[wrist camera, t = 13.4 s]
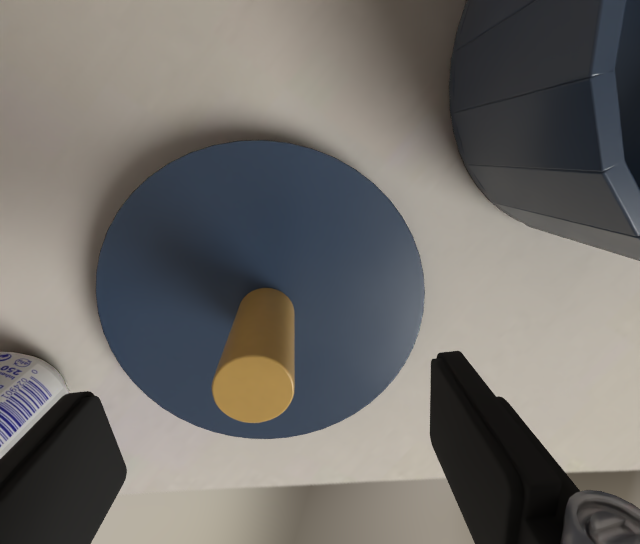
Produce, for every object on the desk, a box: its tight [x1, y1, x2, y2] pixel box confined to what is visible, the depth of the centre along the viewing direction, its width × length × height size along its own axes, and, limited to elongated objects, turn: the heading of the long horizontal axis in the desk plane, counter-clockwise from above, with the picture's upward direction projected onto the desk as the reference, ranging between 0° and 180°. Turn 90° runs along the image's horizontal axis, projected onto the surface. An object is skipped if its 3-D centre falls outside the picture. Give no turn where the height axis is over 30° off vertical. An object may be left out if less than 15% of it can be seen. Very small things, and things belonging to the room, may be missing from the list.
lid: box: [96, 140, 425, 439], centre depth 14 cm, size 15×15×7 cm
